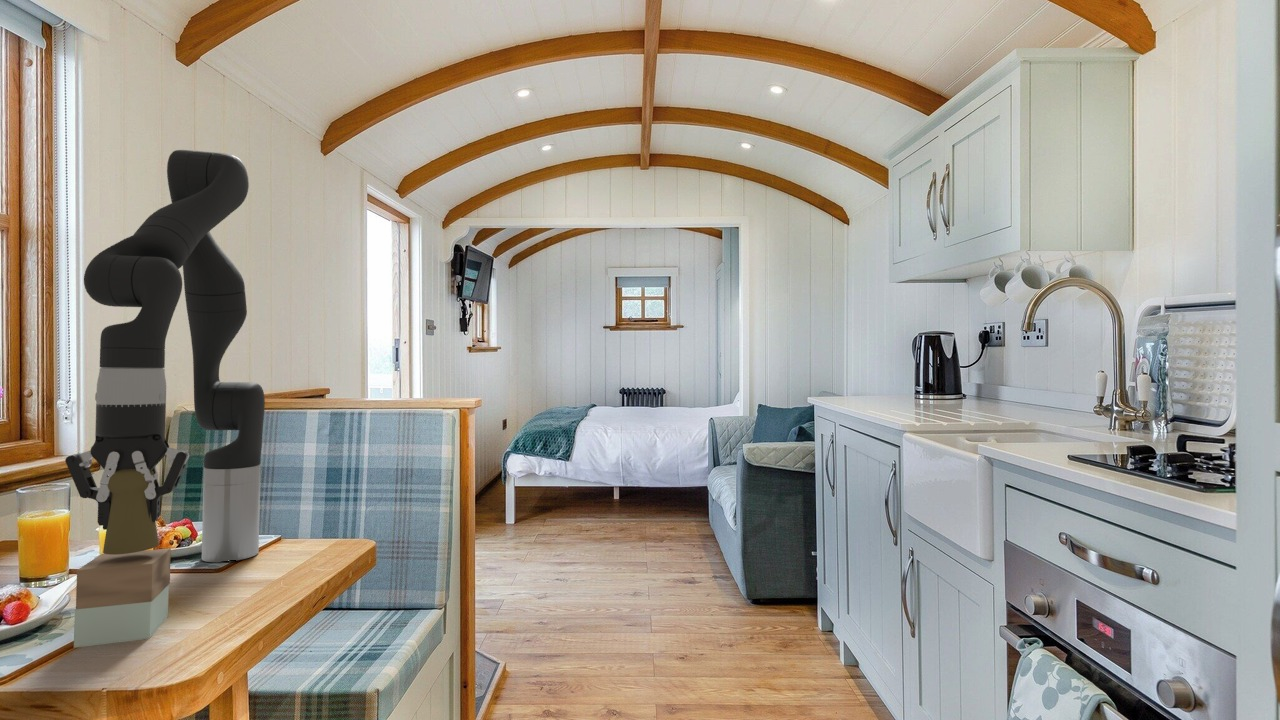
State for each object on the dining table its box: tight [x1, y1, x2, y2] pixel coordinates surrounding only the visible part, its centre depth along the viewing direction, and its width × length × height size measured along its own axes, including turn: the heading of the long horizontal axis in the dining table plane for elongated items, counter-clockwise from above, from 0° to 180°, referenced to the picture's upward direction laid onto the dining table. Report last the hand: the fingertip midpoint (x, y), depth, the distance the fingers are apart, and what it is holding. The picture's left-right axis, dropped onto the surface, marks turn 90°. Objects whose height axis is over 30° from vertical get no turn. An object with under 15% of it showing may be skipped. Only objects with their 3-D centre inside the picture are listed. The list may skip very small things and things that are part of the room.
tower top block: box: [75, 548, 171, 609], centre depth 88 cm, size 8×8×5 cm
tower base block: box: [73, 584, 170, 649], centre depth 88 cm, size 8×8×5 cm
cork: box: [102, 469, 160, 555], centre depth 88 cm, size 6×6×11 cm
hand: (128, 526), depth 88 cm, fingers open, 4 cm apart
